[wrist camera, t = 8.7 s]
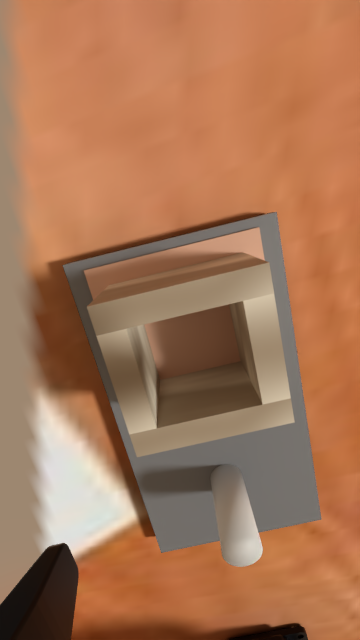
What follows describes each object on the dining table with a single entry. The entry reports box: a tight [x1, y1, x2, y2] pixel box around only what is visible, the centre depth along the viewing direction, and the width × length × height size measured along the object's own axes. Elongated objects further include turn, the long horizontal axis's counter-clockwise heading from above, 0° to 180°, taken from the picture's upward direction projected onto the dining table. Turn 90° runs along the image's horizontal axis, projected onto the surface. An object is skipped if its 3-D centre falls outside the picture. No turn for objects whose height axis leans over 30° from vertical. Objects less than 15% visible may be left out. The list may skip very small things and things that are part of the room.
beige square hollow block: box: [87, 252, 295, 457], centre depth 15 cm, size 7×7×4 cm
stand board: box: [63, 212, 321, 567], centre depth 17 cm, size 20×11×6 cm, turn 14°
